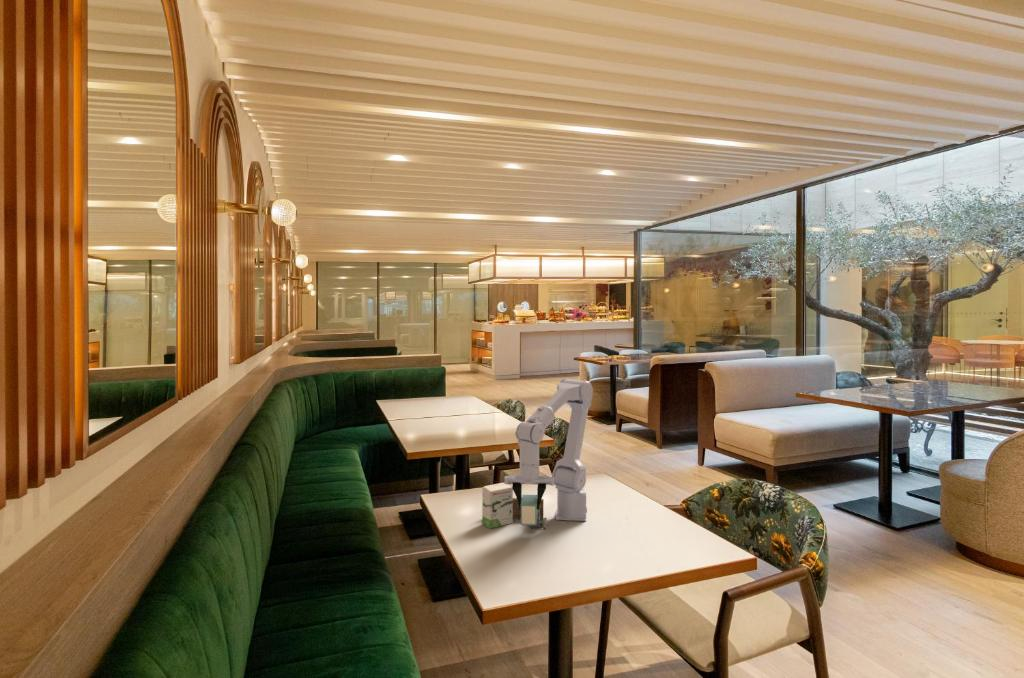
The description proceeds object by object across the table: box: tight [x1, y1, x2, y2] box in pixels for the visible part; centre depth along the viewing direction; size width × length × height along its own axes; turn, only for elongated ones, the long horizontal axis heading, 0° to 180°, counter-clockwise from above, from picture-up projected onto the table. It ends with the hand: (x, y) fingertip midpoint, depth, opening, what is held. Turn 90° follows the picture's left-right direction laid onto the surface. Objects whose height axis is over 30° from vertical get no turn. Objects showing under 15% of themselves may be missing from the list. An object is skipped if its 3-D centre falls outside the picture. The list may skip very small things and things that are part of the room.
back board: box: [513, 497, 544, 519], centre depth 186 cm, size 17×1×6 cm, turn 84°
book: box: [520, 494, 538, 526], centre depth 171 cm, size 4×8×6 cm, turn 175°
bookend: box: [530, 508, 547, 530], centre depth 181 cm, size 4×8×6 cm, turn 174°
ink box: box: [481, 482, 514, 529], centre depth 181 cm, size 9×5×12 cm, turn 123°
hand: (529, 508), depth 171 cm, fingers closed on book, 4 cm apart
